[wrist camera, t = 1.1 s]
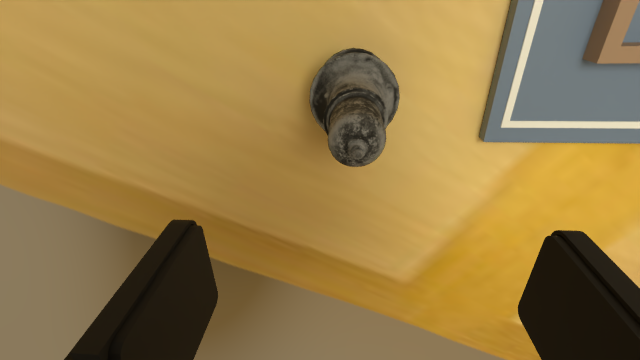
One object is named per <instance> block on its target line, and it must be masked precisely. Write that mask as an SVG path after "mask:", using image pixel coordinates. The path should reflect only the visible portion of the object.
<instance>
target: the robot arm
mask: <svg viewBox="0 0 640 360" xmlns="http://www.w3.org/2000/svg"><path fill="white" fill-rule="evenodd" d="M217 299H218V291H217V287H216V283H215V279H214V275H213V270H212V266H211V262H210V258H209V254H208V249H207V245H206V241H205V237H204V233H203V229H202V227H201V226H197V224H196V222H195V221H193V220H172V221H171V222H170V223H169V224H168V225H167V227H166V228H165V229H164V231H163V232H162V233H161V235H160V236H159V237H158V238H157V240H156V241H155V242H154V244H153V245H152V246H151V248H150V249H149V250H148V251H147V253H146V254H145V255H144V257H143V258H142V259H141V261H140V262H139V263H138V265H137V266H136V267H135V269H134V270H133V271H132V272H131V274H130V275H129V276H128V277H127V279H126V280H125V281H124V283H123V284H122V285H121V286H120V288H119V289H118V290H117V292H116V293H115V294H114V296H113V297H112V298H111V299H110V301H109V302H108V304H107V305H106V306H105V307H104V309H103V310H102V311H101V313H100V314H99V315H98V317H97V318H96V319H95V320H94V322H93V323H92V324H91V326H90V327H89V328H88V329H87V331H86V332H85V333H84V335H83V336H82V337H81V338H80V340H79V341H78V342H77V344H76V345H75V346H74V348H73V349H72V350H71V352H70V353H69V354H68V356H67V357H66V358H65V359H64V360H193V359H194V357H195V354H196V352H197V350H198V347H199V345H200V342H201V340H202V338H203V335H204V333H205V330H206V328H207V326H208V323H209V321H210V318H211V316H212V314H213V311H214V309H215V307H216V303H217ZM518 314H519V317H520V320H521V322H522V324H523V325H524V327H525V329H526V331H527V333H528V335H529V337H530V339H531V340H532V342H533V344H534V346H535V348H536V350H537V352H538V354H539V356H540V357H541V359H542V360H640V288H639V287H638V286H637V285H636V284H635V283H634V282H633V281H632V280H631V279H630V278H629V277H628V276H627V275H626V274H625V273H624V272H623V271H622V270H621V269H620V268H619V267H618V266H617V265H616V264H615V263H614V262H613V261H612V260H611V259H610V258H609V257H608V256H607V255H606V254H605V253H604V252H603V251H602V250H601V249H600V248H599V247H598V246H597V245H596V244H595V243H594V242H593V241H592V240H591V239H590V238H589V237H588V236H587V235H586V234H585V233H584V232H581V231H562V230H557V231H554V232H553V233H552V234H551V236H547V237H546V238H545V240H544V242H543V244H542V247H541V249H540V252H539V254H538V257H537V259H536V262H535V264H534V267H533V269H532V272H531V274H530V277H529V280H528V282H527V285H526V287H525V290H524V292H523V295H522V297H521V300H520V302H519V305H518Z"/></svg>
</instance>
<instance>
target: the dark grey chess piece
mask: <svg viewBox="0 0 640 360" xmlns="http://www.w3.org/2000/svg"><path fill="white" fill-rule="evenodd" d="M398 103H399V86H398V83H397V80H396V78H395V75H394V74H393V72H392V71H391V70H390V68H389V67H388V65H386V64H385V63H384V62H382V61H381V60H380V59H379V58H378V57H377V56H375V55H374V54H373V53H371V52H369V51H366V50H363V49H355V48H352V49H346V50H342V51H340V52H338V53H336V54H334V55H333V56H332V57H331V58H330V59H329V60H327V62H326V63H325V65H324V66H323V67H322V68H321V69H320V70H319V72H318V73H317V75H316V76H315V78H314V80H313V83H312V86H311V89H310V106H311V111H312V114H313V116H314V118H315V120H316V122H317V123H318V124H319V125H320V126H321V127H322V129H323V130H324V131H326V133H327V135H328V145H329V149H330V151H331V153H332V155H333V156H334V157H335V159H336V160H337V161H339V162H340V163H342V164H344V165H347V166H351V167H360V166H365V165H367V164H370V163H371V162H373V161H374V160H376V159H377V158H378V157H379V156H380V154H381V153H382V151H383V149H384V146H385V142H386V131H385V129H386V127H387V125H388V124H389V123H390V122H391V121H392V119H393V117H394V115H395V113H396V111H397V108H398Z"/></svg>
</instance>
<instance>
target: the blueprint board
mask: <svg viewBox="0 0 640 360" xmlns="http://www.w3.org/2000/svg"><path fill="white" fill-rule="evenodd" d="M479 137H480V139H481V140H482V141H483V142H548V143H640V0H511V4H510V8H509V12H508V17H507V21H506V25H505V29H504V34H503V38H502V42H501V46H500V50H499V55H498V59H497V63H496V67H495V71H494V76H493V80H492V84H491V88H490V92H489V97H488V101H487V105H486V109H485V113H484V118H483V122H482V126H481V130H480V134H479Z"/></svg>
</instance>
